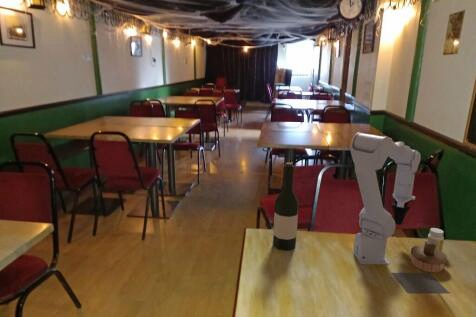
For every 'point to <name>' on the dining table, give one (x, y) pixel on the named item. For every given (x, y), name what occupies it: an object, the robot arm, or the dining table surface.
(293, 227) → the wine bottle
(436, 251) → the lid
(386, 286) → the dining table surface
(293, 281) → the dining table surface
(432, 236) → the supplement bottle
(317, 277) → the dining table surface
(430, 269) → the bowl
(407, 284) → the mat
